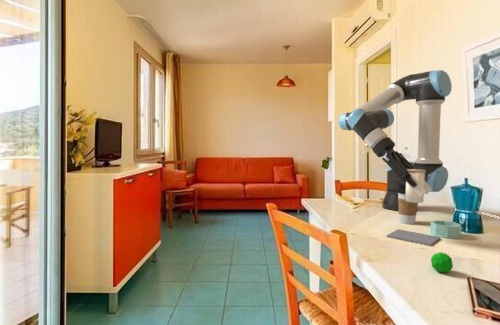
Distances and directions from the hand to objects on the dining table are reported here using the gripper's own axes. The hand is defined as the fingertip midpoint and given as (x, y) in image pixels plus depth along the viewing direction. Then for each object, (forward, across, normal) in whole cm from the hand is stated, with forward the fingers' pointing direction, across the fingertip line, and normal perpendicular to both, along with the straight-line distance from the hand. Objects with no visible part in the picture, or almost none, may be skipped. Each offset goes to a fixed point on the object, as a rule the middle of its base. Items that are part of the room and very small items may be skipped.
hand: (426, 192), depth 110 cm
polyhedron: (+20, +26, -4) cm, 33 cm away
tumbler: (0, 0, -5) cm, 5 cm away
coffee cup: (+3, -21, -20) cm, 29 cm away
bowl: (+14, -12, -9) cm, 21 cm away
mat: (+9, 0, -14) cm, 17 cm away
